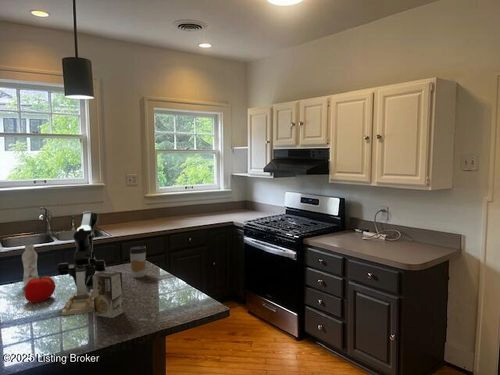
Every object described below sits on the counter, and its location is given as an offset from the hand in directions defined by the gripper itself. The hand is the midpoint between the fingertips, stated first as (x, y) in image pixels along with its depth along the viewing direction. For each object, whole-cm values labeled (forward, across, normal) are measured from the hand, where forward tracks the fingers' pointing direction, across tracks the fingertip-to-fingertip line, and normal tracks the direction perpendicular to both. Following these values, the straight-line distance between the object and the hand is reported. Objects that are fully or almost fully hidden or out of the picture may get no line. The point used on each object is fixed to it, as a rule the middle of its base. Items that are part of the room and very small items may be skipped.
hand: (80, 285), depth 154 cm
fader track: (+7, 0, +4) cm, 8 cm away
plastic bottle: (-17, -26, +28) cm, 42 cm away
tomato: (-1, -17, +12) cm, 21 cm away
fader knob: (+3, 0, +5) cm, 6 cm away
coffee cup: (-16, +24, +27) cm, 40 cm away
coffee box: (+17, +12, -6) cm, 22 cm away
